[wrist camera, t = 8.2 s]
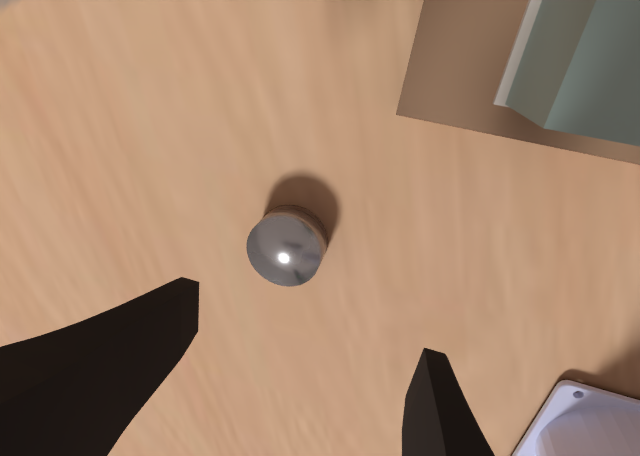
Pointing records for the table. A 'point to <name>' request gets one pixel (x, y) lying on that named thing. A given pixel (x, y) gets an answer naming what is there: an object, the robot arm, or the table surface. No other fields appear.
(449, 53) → the stand
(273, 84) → the table surface
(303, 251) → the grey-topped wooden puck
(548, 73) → the block
